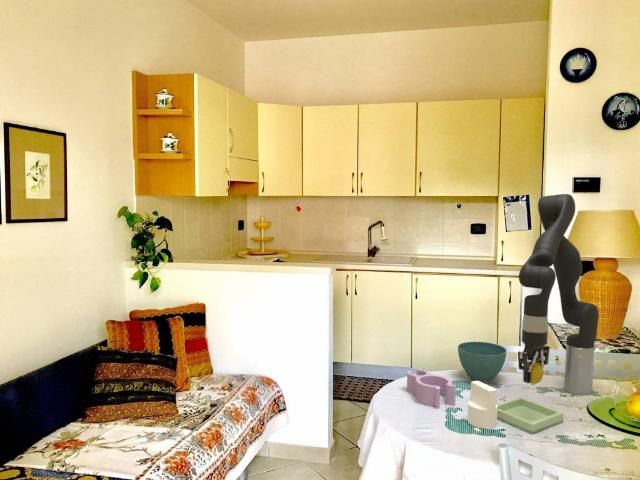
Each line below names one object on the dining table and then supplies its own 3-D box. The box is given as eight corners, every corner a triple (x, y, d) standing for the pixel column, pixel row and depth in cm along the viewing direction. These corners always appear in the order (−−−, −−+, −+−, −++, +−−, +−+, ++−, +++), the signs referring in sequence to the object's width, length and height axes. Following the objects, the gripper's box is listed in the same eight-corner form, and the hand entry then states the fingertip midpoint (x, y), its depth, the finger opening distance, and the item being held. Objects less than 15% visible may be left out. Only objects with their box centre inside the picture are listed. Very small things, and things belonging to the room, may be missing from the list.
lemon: (520, 382, 175) (521, 358, 174) (537, 381, 176) (537, 357, 175) (529, 388, 170) (529, 363, 169) (545, 387, 170) (546, 363, 169)
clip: (398, 390, 200) (398, 372, 199) (426, 385, 205) (426, 367, 204) (431, 410, 182) (432, 390, 181) (461, 404, 187) (461, 385, 186)
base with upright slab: (461, 419, 175) (462, 382, 173) (483, 414, 178) (485, 379, 177) (480, 430, 166) (481, 392, 165) (503, 425, 170) (504, 388, 169)
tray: (519, 405, 186) (520, 396, 186) (563, 422, 173) (563, 413, 173) (489, 415, 177) (489, 406, 177) (532, 434, 164) (532, 424, 164)
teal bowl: (495, 390, 200) (497, 358, 198) (449, 379, 211) (450, 348, 209) (511, 377, 214) (513, 347, 213) (467, 367, 225) (468, 338, 224)
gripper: (537, 322, 178) (535, 372, 180) (510, 329, 170) (508, 381, 172) (558, 327, 172) (556, 379, 174) (532, 334, 164) (529, 388, 165)
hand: (532, 380), depth 173 cm, fingers closed on lemon, 5 cm apart
